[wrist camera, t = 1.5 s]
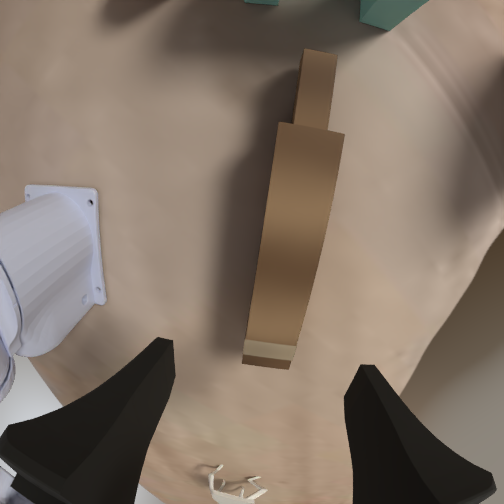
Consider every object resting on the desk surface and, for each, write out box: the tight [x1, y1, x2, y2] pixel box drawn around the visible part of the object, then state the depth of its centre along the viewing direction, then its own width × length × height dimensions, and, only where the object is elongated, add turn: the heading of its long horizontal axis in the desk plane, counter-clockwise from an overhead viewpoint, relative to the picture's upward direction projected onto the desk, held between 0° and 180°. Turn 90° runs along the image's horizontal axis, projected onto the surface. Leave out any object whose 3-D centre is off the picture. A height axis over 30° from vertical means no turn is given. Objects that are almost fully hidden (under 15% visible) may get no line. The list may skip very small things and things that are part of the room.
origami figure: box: [209, 465, 268, 504], centre depth 31 cm, size 12×8×5 cm
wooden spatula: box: [242, 48, 345, 370], centre depth 16 cm, size 18×3×4 cm, turn 172°
